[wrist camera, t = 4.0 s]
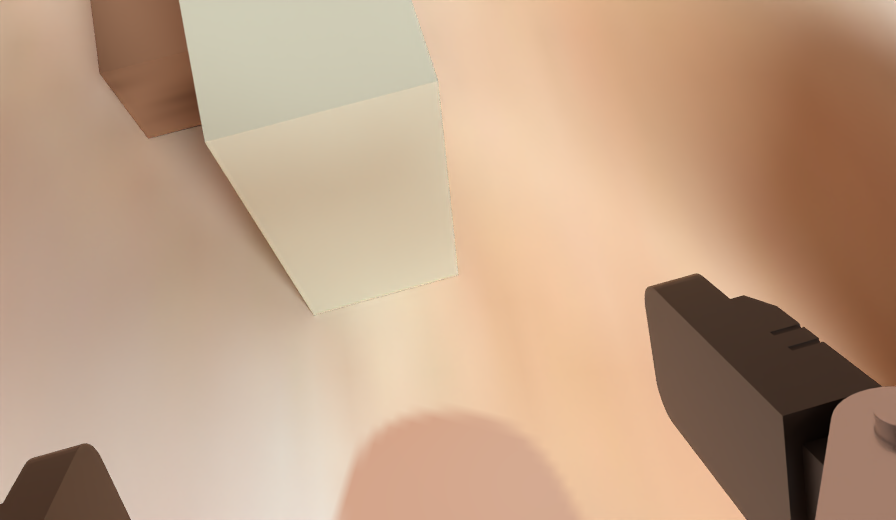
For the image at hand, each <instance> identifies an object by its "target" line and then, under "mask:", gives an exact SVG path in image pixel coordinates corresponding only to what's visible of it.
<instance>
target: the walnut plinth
mask: <svg viewBox="0 0 896 520" xmlns="http://www.w3.org/2000/svg"><path fill="white" fill-rule="evenodd" d="M91 8H92V16H93V24H94V32H95V40H96V48H97V56H98V64H99V72H100V74H101V76H102V77H103V78H104V80H105V81H106V82H107V84H108V85H109V86H110V88H111V89H112V91H113V92H114V93H115V95H116V96H117V97H118V99H119V100H120V101H121V103H122V104H123V105H124V107H125V108H126V109H127V111H128V112H129V113H130V115H131V116H132V117H133V119H134V120H135V121H136V123H137V124H138V125H139V127H140V128H141V129H142V131H143V132H144V133H145V135H146V136H147V137H148V138H152V137H156V136H160V135H164V134H168V133H171V132H175V131H179V130H183V129H187V128H191V127H194V126H198V125H202V124H201V119H200V113H199V108H198V102H197V97H196V91H195V86H194V80H193V75H192V69H191V64H190V58H189V53H188V47H187V42H186V36H185V31H184V25H183V20H182V14H181V9H180V3H179V0H91Z"/></svg>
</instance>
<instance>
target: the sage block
mask: <svg viewBox="0 0 896 520" xmlns="http://www.w3.org/2000/svg"><path fill="white" fill-rule="evenodd" d="M179 3H180V9H181V14H182V20H183V25H184V31H185V36H186V42H187V47H188V53H189V58H190V64H191V69H192V75H193V80H194V86H195V91H196V97H197V102H198V108H199V113H200V119H201V124H202V130H203V135H204V141H205V143H206V145H207V147H208V148H209V150H210V151H211V153H212V154H213V156H214V158H215V159H216V161H217V162H218V164H219V166H220V167H221V169H222V170H223V172H224V174H225V175H226V177H227V178H228V180H229V181H230V183H231V185H232V186H233V188H234V189H235V191H236V193H237V194H238V196H239V197H240V199H241V201H242V202H243V204H244V205H245V207H246V208H247V210H248V212H249V213H250V215H251V216H252V218H253V220H254V221H255V223H256V224H257V226H258V228H259V229H260V231H261V232H262V234H263V235H264V237H265V239H266V240H267V242H268V243H269V245H270V247H271V248H272V250H273V251H274V253H275V255H276V256H277V258H278V259H279V261H280V262H281V264H282V266H283V267H284V269H285V270H286V272H287V274H288V275H289V277H290V278H291V280H292V282H293V283H294V285H295V286H296V288H297V289H298V291H299V293H300V294H301V296H302V297H303V299H304V301H305V302H306V304H307V305H308V307H309V309H310V310H311V312H312V313H313V315H317V314H320V313H324V312H327V311H331V310H335V309H338V308H342V307H345V306H349V305H353V304H356V303H360V302H363V301H367V300H371V299H374V298H378V297H381V296H385V295H389V294H392V293H396V292H399V291H403V290H407V289H410V288H414V287H417V286H421V285H425V284H428V283H432V282H435V281H439V280H443V279H446V278H450V277H453V276H457V275H458V266H457V257H456V247H455V237H454V228H453V218H452V209H451V199H450V190H449V180H448V170H447V161H446V151H445V142H444V132H443V123H442V113H441V104H440V94H439V84H438V79H437V76H436V73H435V70H434V67H433V64H432V61H431V58H430V55H429V52H428V49H427V46H426V43H425V40H424V37H423V34H422V31H421V27H420V24H419V21H418V18H417V15H416V12H415V9H414V6H413V3H412V0H179Z"/></svg>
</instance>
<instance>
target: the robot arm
mask: <svg viewBox="0 0 896 520" xmlns="http://www.w3.org/2000/svg"><path fill="white" fill-rule="evenodd" d="M645 307H646V314H647V321H648V328H649V334H650V341H651V348H652V354H653V361H654V368H655V375H656V381H657V386H658V390H659V393H660V396H661V399H662V402H663V405H664V407H665V409H666V412H667V413H668V415H669V417H670V419H671V421H672V422H673V424H674V425H675V426H676V428H677V429H678V430H679V431H680V433H681V434H682V435H683V437H684V438H685V439H686V441H687V442H688V443H689V445H690V446H691V447H692V449H693V450H694V451H695V452H696V454H697V455H698V456H699V458H700V459H701V460H702V462H703V463H704V464H705V466H706V467H707V468H708V470H709V471H710V472H711V473H712V475H713V476H714V477H715V479H716V480H717V481H718V483H719V484H720V485H721V487H722V488H723V489H724V490H725V492H726V493H727V494H728V496H729V497H730V498H731V500H732V501H733V502H734V504H735V505H736V506H737V508H738V509H739V510H740V511H741V513H742V514H743V515H744V517H745V518H746V519H747V520H896V386H889V387H882V386H881V385H879V384H878V383H877V382H875V381H874V380H873V379H872V378H870V377H869V376H868V375H866V374H865V373H864V372H862V371H861V370H860V369H858V368H857V367H856V366H854V365H853V364H852V363H851V362H849V361H848V360H847V359H845V358H844V357H843V356H841V355H840V354H839V353H837V352H836V351H835V350H834V349H832V348H831V347H830V346H828V345H827V344H826V343H824V342H821V343H820V341H819V338H818V337H816V336H815V335H814V334H813V333H811V332H810V331H809V330H807V329H806V328H805V327H803V328H801V327H800V324H799V323H798V322H797V321H795V320H794V319H793V318H792V317H790V316H789V315H788V314H786V313H785V312H784V311H782V310H781V309H780V308H778V307H777V306H774V305H771V304H768V303H765V302H762V301H759V300H756V299H753V298H750V297H747V296H744V295H743V296H740V297H736V298H733V299H729V298H728V297H727V296H726V295H725V294H723V293H722V292H721V291H720V290H719V289H717V288H716V287H715V286H714V285H713V284H711V283H710V282H709V281H708V280H706V279H705V278H704V277H703V276H701V275H700V274H693V275H689V276H685V277H682V278H678V279H675V280H671V281H668V282H664V283H660V284H657V285H653V286H650V287H648V288H647V289H646V291H645ZM0 520H131V519H130V517H129V515H128V513H127V511H126V509H125V507H124V505H123V502H122V500H121V498H120V496H119V494H118V492H117V490H116V488H115V486H114V484H113V482H112V480H111V477H110V475H109V473H108V471H107V469H106V467H105V465H104V463H103V461H102V459H101V457H100V455H99V453H98V452H97V450H96V449H95V448H94V447H93V446H91V445H90V444H81V445H77V446H74V447H70V448H67V449H63V450H59V451H56V452H52V453H49V454H45V455H42V456H38V457H34V458H32V459H30V460H28V461H27V463H26V464H25V465H24V467H23V469H22V471H21V472H20V474H19V476H18V478H17V479H16V481H15V483H14V485H13V486H12V488H11V490H10V492H9V493H8V495H7V497H6V499H5V500H4V502H3V503H2V504H0Z"/></svg>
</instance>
